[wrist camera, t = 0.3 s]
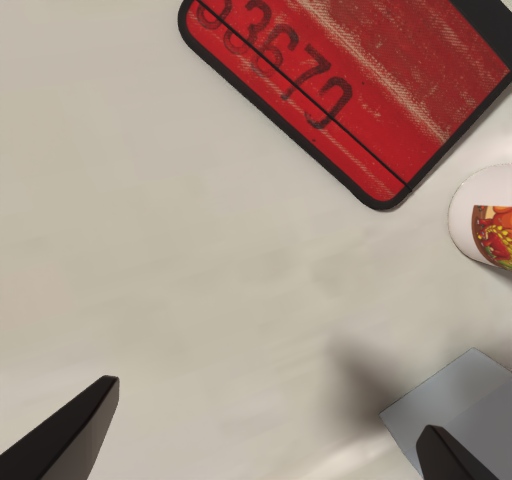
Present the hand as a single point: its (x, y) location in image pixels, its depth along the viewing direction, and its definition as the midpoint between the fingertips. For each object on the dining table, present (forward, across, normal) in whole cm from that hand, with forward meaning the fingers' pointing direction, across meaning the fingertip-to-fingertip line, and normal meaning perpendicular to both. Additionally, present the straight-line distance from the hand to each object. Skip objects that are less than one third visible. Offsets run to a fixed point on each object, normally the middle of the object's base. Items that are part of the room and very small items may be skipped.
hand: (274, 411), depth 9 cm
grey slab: (+13, -20, +14) cm, 27 cm away
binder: (+20, -4, -14) cm, 24 cm away
